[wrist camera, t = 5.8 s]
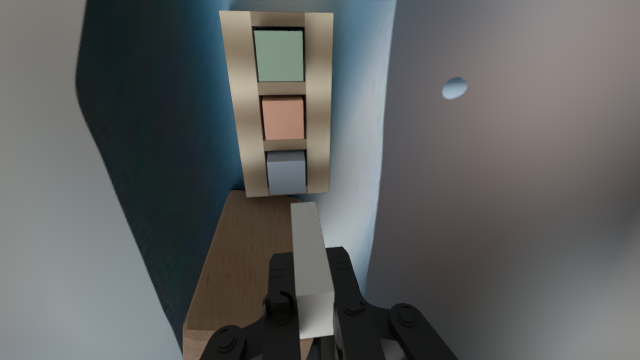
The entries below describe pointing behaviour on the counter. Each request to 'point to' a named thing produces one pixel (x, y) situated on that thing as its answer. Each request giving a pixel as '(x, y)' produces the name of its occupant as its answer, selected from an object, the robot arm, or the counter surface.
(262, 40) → the green button
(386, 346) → the robot arm
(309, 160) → the wooden slotted tray
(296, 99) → the terracotta button
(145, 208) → the counter surface
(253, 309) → the block
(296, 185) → the grey small cube
